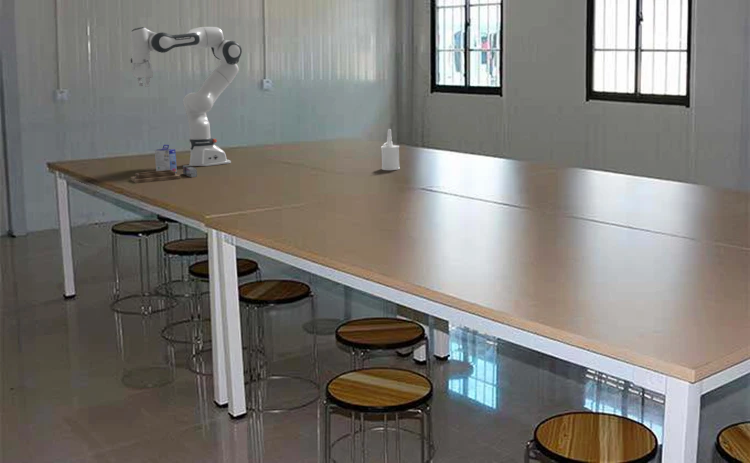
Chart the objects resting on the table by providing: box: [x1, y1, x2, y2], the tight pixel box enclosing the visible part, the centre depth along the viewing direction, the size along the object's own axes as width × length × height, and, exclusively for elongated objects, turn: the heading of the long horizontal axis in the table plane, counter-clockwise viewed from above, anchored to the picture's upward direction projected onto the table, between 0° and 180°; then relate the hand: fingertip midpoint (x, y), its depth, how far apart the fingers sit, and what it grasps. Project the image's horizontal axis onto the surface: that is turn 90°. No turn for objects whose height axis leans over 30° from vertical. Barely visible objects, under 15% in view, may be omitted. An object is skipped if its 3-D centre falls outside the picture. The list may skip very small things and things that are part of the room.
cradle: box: [130, 170, 181, 184], centre depth 449 cm, size 22×12×4 cm, turn 116°
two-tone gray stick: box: [182, 164, 198, 178], centre depth 458 cm, size 14×4×4 cm, turn 26°
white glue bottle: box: [380, 128, 401, 171], centre depth 453 cm, size 10×9×20 cm
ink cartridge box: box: [154, 144, 178, 174], centre depth 468 cm, size 10×6×14 cm, turn 63°
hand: (144, 86), depth 471 cm, fingers open, 8 cm apart
